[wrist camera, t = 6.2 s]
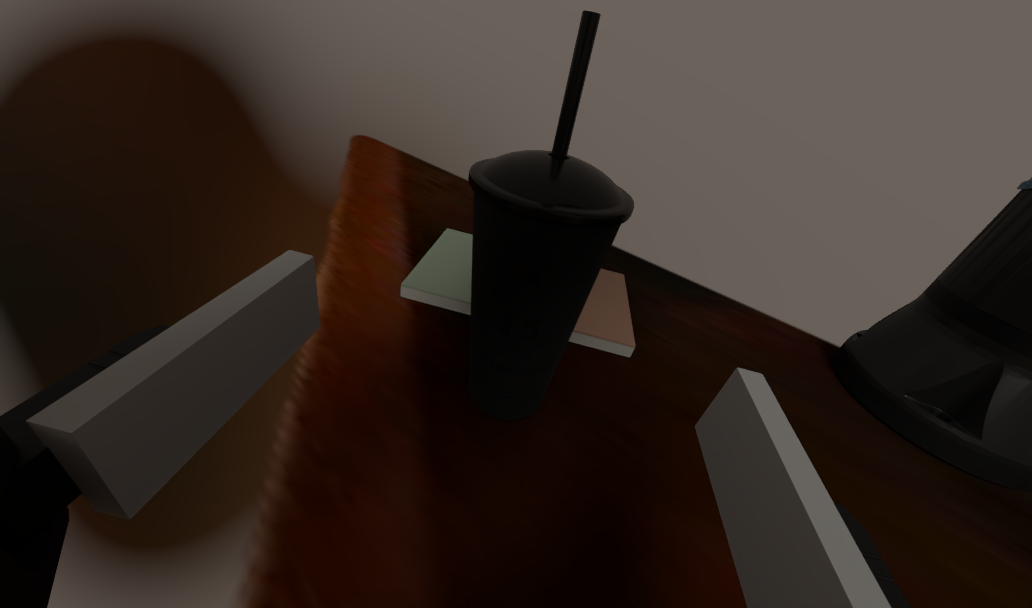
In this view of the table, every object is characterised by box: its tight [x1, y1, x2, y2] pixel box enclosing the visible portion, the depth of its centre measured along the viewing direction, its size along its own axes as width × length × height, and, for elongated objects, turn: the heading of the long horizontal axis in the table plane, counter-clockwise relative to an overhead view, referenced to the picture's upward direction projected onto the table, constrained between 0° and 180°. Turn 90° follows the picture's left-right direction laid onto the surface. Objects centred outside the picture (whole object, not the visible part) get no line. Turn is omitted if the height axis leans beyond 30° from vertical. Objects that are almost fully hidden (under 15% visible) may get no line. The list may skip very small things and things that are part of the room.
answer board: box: [401, 228, 635, 357], centre depth 36 cm, size 19×12×1 cm, turn 80°
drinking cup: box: [468, 11, 634, 420], centre depth 20 cm, size 8×8×20 cm
